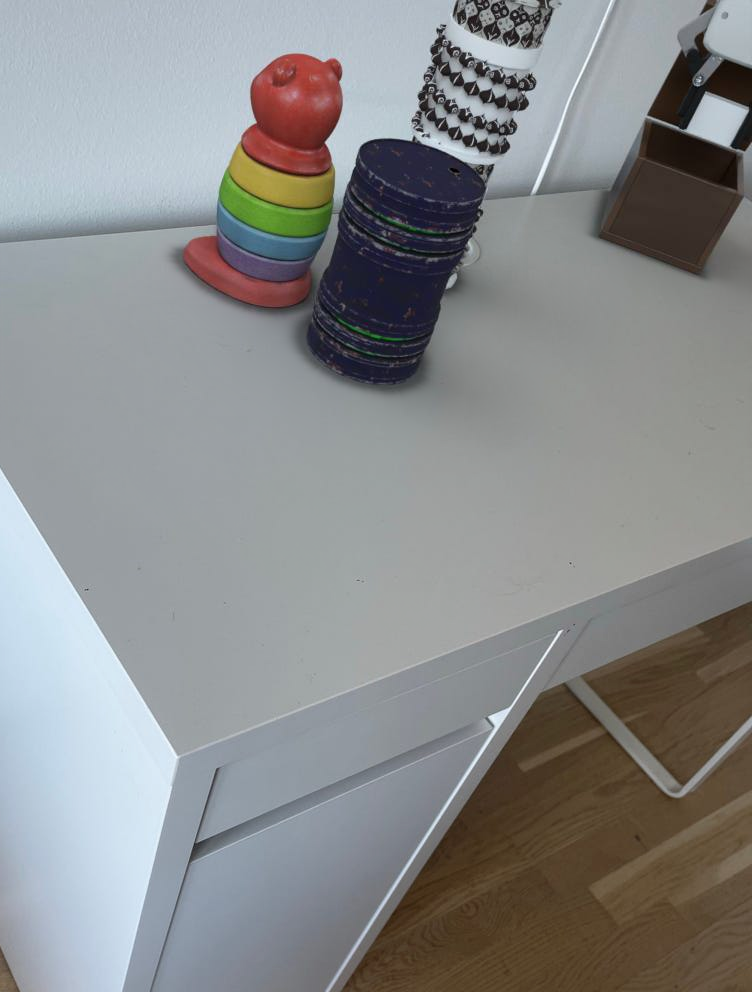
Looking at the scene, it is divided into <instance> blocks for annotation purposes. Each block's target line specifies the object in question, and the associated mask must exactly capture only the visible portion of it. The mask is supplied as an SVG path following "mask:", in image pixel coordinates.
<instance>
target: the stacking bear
mask: <svg viewBox="0 0 752 992" xmlns="http://www.w3.org/2000/svg"><path fill="white" fill-rule="evenodd" d="M342 78H343V67H342V64H341V62H340V61H339V60H338V59H336V58H332V57H331V58H329V59H327V60H325V61H322V60H321V59H319V58H317V57H315V56H313V55H309V54H305V53H288V54H283V55H281V56H279V57H277V58H275V59H273V60H271V62H270V63H268V64H267V65H266V66H265V67H264V68H263V69H262V70H260V72H258V73H257V75H256V76H255V77H253V79H252V81H251V85H250V88H249V92H250V93H249V99H250V106H251V110H252V115H253V117H254V120H255V122H256V123H253V124H251V125H250V126H249V127H248V128H247V129H245V131H244V132H243V133H242V135H241V138H240V140H239V142H238V143H237V145H236V147H235V149H234V151H233V153H232V155H231V157H230V160H229V164H228V165H227V167H226V169H225V171H224V173H223V176H222V177H221V178H222V179H221V182H220V186H219V188H218V196H217V202H216V203H217V204H216V235H205V236H199V237H195V238H192V239H191V240H190V241H189V242H188V243H187V245H186V246H185V248H184V250H183V253H182V257H183V261H184V263H185V264H186V265H187V266H188V267H189V269H190V270H192V272H194V273H195V274H196V275H197V276H198V277H199V278H200V279H202V280H203V281H204V282H206V283H207V284H209V285H210V286H211V287H213V288H215V289H217V290H219V291H220V292H222V293H224V294H226V295H228V296H230V297H232V298H234V299H236V300H240V301H242V302H244V303H248V304H250V305H255V306H258V307H259V306H260V307H264V308H265V307H267V308H285V307H290V306H291V307H292V306H294V305H297V304H298V303H300V302H302V301H304V300H305V299H306V298H307V296H308V295H309V294H310V290H311V283H312V274H311V266H312V264H313V263H314V261H315V258H316V256H317V254H318V252H319V251H320V249H321V248H322V246H323V244H324V241H325V240H326V238H327V235H328V232H329V227H330V224H331V222H332V217H333V210H334V203H335V202H334V201H335V199H334V194H335V188H336V168H335V164H334V163H333V158H332V153H331V151H330V149H329V147H328V145H327V144H326V142H327V141H328V139H329V138H330V137H331V135H332V134H333V133H334V131H335V129H336V127H337V126H338V123H339V122H340V121H339V120H340V118H341V115H342V111H343V105H344V95H343V89H342V87H341V82H340V81H341V80H342Z"/></svg>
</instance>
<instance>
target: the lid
mask: <svg viewBox="0 0 752 992" xmlns="http://www.w3.org/2000/svg"><path fill="white" fill-rule="evenodd" d="M717 1H718V0H706V1H705V3H704V5H703V7H702V9H701V11H700V12H699V14H698V16H697V17H699V16H700V15H702V14H703V13H705V12H706V11H708V10H709V9H711V8H713V7H714V6H715V5H716V3H717ZM703 39H704V34H703V32H701V33H700V34H698V35H697V36H696V37H695V41H696V44H697V46H698V48H699V49H700V53H701V56H702V60H703V59H704V58H705V56H706V55H707V54H708V53H709V51H708V50H707V49H706V48H705V46H704V44H703ZM680 48H681V47H680ZM692 82H693V80H692V77H691V73H690V70H689V67H688V63H687V60H686V57H685V55H684V53H683V50H682V48H681V49H680V50H679V52H678V53H677V56H676V58H675V60H674V62H673V63H672V65H671V67H670V69H669V71H668V73H667V74H666V77H665V79H664V81H663V82H662V84H661V85H660V88H659V89H658V91H657V94H656V95H655V98H654V99H653V101H652V103H651V105H650V107H649V109H648V111H647V113H646V116H647V117H650V118H653V119H654V120H657V121H661V122H662V123H666V124H669V125H670V126H674V127H677V128H679V124H680V119H681V117H680V116H677V112H678V110H679V108H680V106H681V104H682V102H683V100H684V98H685V96H686V94H687V92H688V90H689V88H690V86H691V84H692ZM706 91H707V92H709V93H712V94H715V95H717V96H720V97H723V98H725V99H728V100H731V101H733V102H736V103H739V104H741V105H744V106H747V107H748V105H749V104H750V102H751V101H752V69H751V68H748V67H746V66H743V65H740V64H737V63H735V62H732V61H729V60H727V59H724V60H723V61H722V62H721V64H720V65H719V66H718V67H717V68H716V70H715V71H714V72H713V73H712V74H711V76H710V77H709V78H708V82H707V84H706ZM751 144H752V136H751V137H750V139H749V141H745V140H742V142H741V144H740V146H739V147H738V149H737V150H739V151H742V152H744V153H745V152H747V150H748V148H749V147H750V146H751ZM729 147H731V148H732V146H731V145H730V146H729Z"/></svg>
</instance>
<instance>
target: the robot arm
mask: <svg viewBox="0 0 752 992" xmlns="http://www.w3.org/2000/svg"><path fill="white" fill-rule="evenodd" d="M698 16H699V15H698ZM698 16H697V17H696V18H694V19H692V20H691V21H689V22H688V23H686V24H685V25H683V26H682V27H681V28H679V30H677V35H676V39H677V42H678V44H679V46H680V48H682V50H683V53H684V55H685V57H686V60H687V63H688V67H689V70H690V73H691V77H692V80H693V82H692V84H691V86H690V88H689V90H688V92H687V94H686V96H685V98H684V100H683V102H682V104H681V106H680V108H679V110H678V112H677V116H680V117H681V119H680V124H679V127H678V129H679V130H681V131H684V130H685V129H687V127H688V125H689V123H690V121H691V120H692V118H693V116H694V114H695V112H696V110H697V108H698V106H699V104H700V102H701V100H702V98H703V96H704V94H705V92H706V84H707V82H708V78H709V77H710V76H711V74H712V73H713V72H714V71H715V70H716V68H717V67H718V66H719V65H720V64H721V62H722V61H723V60H724V59H727V60H729V61H732V62H735V63H737V64H740V65H743V66H746V67H748V68H751V69H752V0H718V1H717V3H716V5H715V6H714V7H713V8H711V9H709V10H708V11H706V12H705V13H703V14H702V15H700V16H699V17H698ZM701 32H703V34H704V39H703V44H704V46H705V48H706V49H707V50H708V51H709V53H708V54H707V55H706V56H705V58H704V59H703V60H702V56H701V53H700V49H699V48H698V46H697V44H696V41H695V37H696V36H697V35H698V34H700V33H701ZM748 107H749V112H748V114H747V115H746V117H745V119H744V121H743V123H742V124H741V126H740V128H739V130H738V132H737V134H736V135H735V137H734V139H733V141H732V143H731V146H732V147H731V146H730V147H731V149H733V150H735V151H737V150H739V149H738V147H739V146H740V144H741V142H742V140H745V141H749V139H750V137H751V136H752V101H751V102H750V104H749V105H748Z"/></svg>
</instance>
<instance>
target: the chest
mask: <svg viewBox="0 0 752 992" xmlns="http://www.w3.org/2000/svg"><path fill="white" fill-rule="evenodd" d="M744 164H745V163H744V153H743V152H741V151H737V150H736V149H733V148H730V147H726V146H724V145H721V144H719V143H716V142H713V141H711V140H708V139H705V138H703V137H700V136H697V135H695V134H692V133H689V132H687V131H684V130H681V129H679V128H675V127H673V126H671V125H667V124H664V123H663V122H660V121H658V120H655V119H651V118H649V117H644V119H643V121H642V124H641V126H640V128H639V130H638V132H637V134H636V136H635V138H634V141H633V143H632V144H631V147H630V148H629V151H628V153H627V155H626V156H625V159H624V162H623V164H622V165H621V166H620V167H621V168H620V169H619V172H618V173H617V176H616V177H615V180H614V182H613V184H612V186H611V188H610V191H609V193H608V195H607V196H608V197H607V201H606V205H605V208H604V212H603V217H602V220H601V225H600V229H599V231H598V232H599V234H598V237H599V238H602V239H604V240H606V241H609V242H612V243H614V244H617V245H619V246H621V247H625V248H628V249H630V250H633V251H636V252H638V253H640V254H642V255H646V256H649V257H651V258H654V259H656V260H659V261H662V262H665V263H668V264H670V265H673V266H674V267H678V268H680V269H683V270H685V271H688V272H691V273H694V274H696V275H700V274H701V271H702V270H703V268H704V266H705V264H706V263H707V261H708V260H709V258H710V256H711V254H712V253H713V251H714V250H715V247H716V246H717V244H718V242H719V241H720V239H721V237H722V235H723V234H724V232H725V230H726V228H727V227H728V225H729V223H730V222H731V220H732V218H733V216H734V215H735V213H736V212H737V210H738V208H739V206H740V204H741V203H742V201H743V199H744V197H745V177H744V176H745V167H744Z"/></svg>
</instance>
